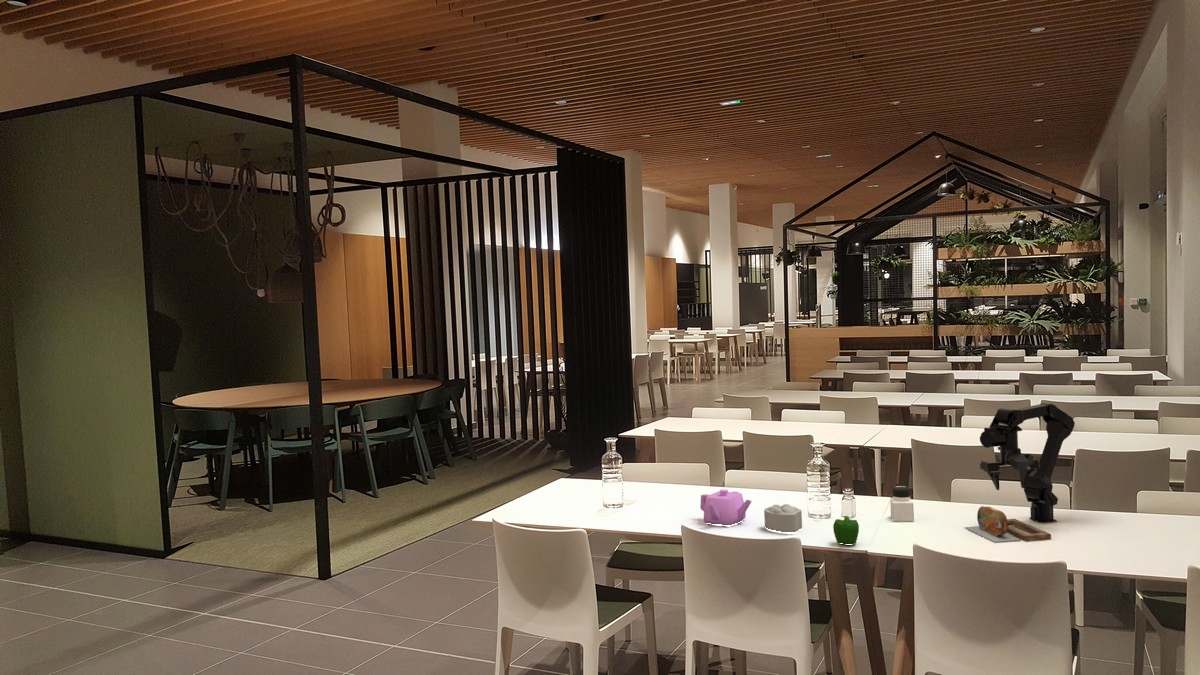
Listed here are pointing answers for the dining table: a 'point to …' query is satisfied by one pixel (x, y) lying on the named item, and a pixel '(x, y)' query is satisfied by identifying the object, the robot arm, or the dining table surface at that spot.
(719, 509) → the teakettle
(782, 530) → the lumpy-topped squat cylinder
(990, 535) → the grey mat
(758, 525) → the dining table surface
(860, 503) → the dining table surface
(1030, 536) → the frame
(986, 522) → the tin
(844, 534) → the bell pepper
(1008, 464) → the robot arm
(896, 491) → the medicine bottle
